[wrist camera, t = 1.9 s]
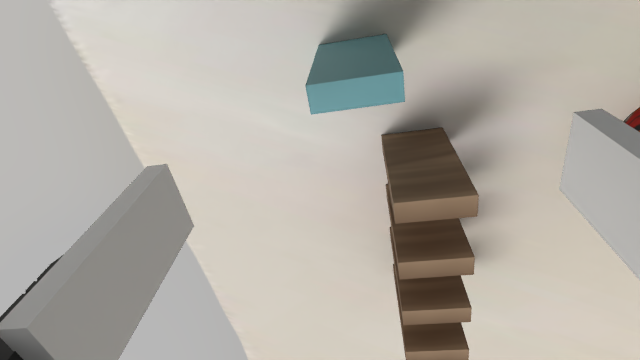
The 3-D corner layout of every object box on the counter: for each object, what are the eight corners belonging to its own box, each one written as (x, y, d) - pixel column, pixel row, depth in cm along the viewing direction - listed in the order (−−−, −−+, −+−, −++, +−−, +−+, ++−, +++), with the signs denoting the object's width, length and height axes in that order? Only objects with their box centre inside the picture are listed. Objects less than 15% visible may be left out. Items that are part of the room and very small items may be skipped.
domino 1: (318, 44, 28) (305, 85, 19) (386, 34, 27) (403, 71, 19) (322, 66, 29) (311, 114, 20) (387, 56, 28) (404, 101, 19)
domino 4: (389, 227, 36) (402, 311, 28) (442, 222, 36) (471, 307, 27) (390, 239, 37) (403, 325, 29) (442, 235, 36) (470, 321, 28)
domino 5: (393, 264, 39) (405, 352, 30) (442, 260, 38) (469, 349, 30) (394, 275, 40) (406, 363, 31) (442, 272, 39) (468, 361, 30)
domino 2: (381, 135, 31) (393, 203, 23) (442, 127, 31) (478, 195, 22) (382, 151, 32) (395, 223, 24) (442, 144, 31) (477, 216, 23)
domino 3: (385, 184, 34) (398, 262, 25) (442, 178, 33) (474, 257, 25) (387, 199, 35) (399, 279, 26) (442, 193, 34) (473, 274, 25)
